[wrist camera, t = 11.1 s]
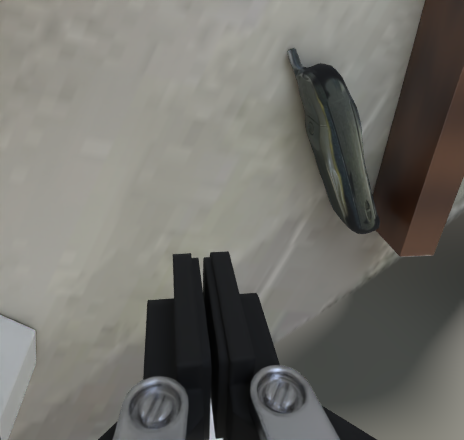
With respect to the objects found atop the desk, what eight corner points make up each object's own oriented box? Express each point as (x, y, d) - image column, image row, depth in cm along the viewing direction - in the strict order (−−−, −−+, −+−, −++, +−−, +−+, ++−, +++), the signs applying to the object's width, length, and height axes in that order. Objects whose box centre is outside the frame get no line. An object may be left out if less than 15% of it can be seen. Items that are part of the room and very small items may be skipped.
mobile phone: (389, 229, 31) (344, 43, 23) (355, 244, 31) (298, 65, 23) (362, 200, 35) (315, 35, 27) (331, 214, 35) (276, 54, 27)
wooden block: (454, -111, 24) (532, -141, 19) (496, -105, 25) (583, -133, 20) (366, 220, 36) (399, 256, 31) (395, 219, 36) (433, 255, 31)
